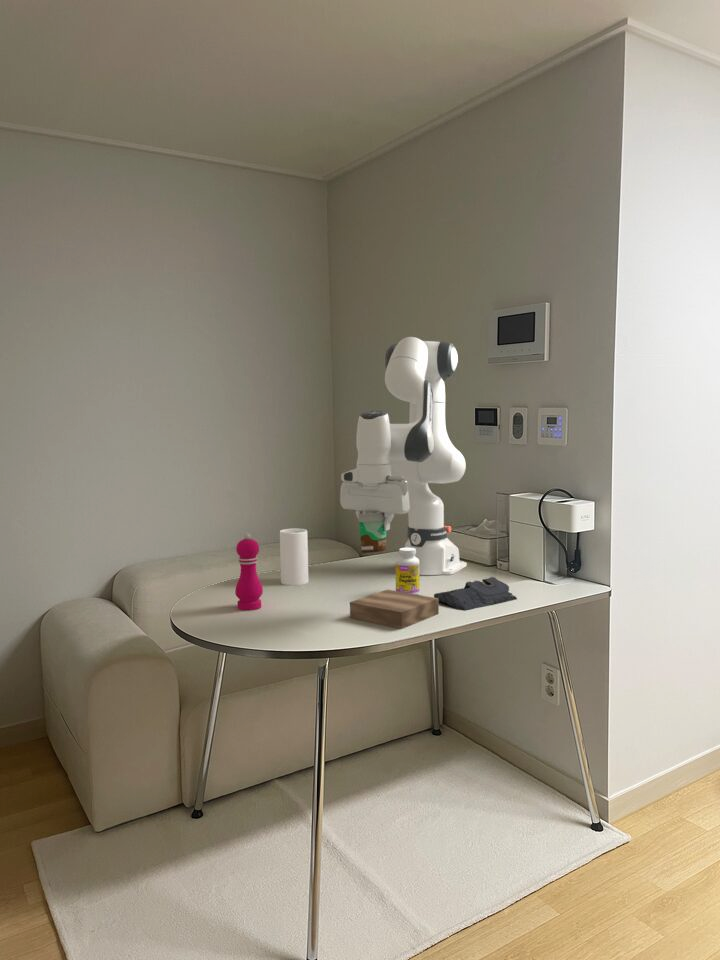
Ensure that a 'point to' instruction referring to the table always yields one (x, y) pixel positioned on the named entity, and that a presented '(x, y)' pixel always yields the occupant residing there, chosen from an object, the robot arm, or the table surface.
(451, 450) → the robot arm
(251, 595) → the pepper mill
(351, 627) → the table surface
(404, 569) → the supplement bottle
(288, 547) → the cup
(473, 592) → the folded dark cloth
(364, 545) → the food container
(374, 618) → the walnut base
